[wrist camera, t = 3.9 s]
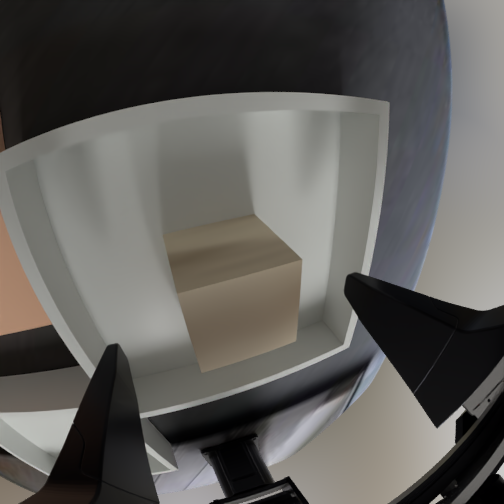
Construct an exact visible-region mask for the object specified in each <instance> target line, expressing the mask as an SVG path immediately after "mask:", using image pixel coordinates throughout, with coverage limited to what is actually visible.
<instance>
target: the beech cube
mask: <svg viewBox="0 0 504 504" xmlns="http://www.w3.org/2000/svg"><path fill="white" fill-rule="evenodd" d="M163 239H164V243H165V247H166V252H167V256H168V260H169V264H170V268H171V272H172V276H173V280H174V284H175V288H176V291H177V295H178V299H179V302H180V306H181V309H182V313H183V316H184V320H185V323H186V326H187V330H188V333H189V336H190V339H191V343H192V346H193V349H194V352H195V355H196V358H197V361H198V364H199V367H200V370H201V373H204V372H207V371H211V370H214V369H217V368H221V367H224V366H227V365H230V364H233V363H236V362H240V361H243V360H246V359H249V358H252V357H254V356H257V355H260V354H263V353H266V352H269V351H271V350H274V349H277V348H280V347H282V346H285V345H288V344H290V343H293V342H295V341H296V337H297V326H298V315H299V302H300V289H301V275H302V258H300V257H299V256H298V255H297V254H296V253H295V252H294V251H293V250H292V249H291V248H290V247H289V246H288V245H287V244H286V243H285V242H284V241H283V240H282V239H281V238H279V237H278V236H277V235H276V234H275V233H274V232H273V231H272V230H271V229H270V228H269V227H268V226H267V225H266V224H265V223H263V222H262V221H261V220H260V219H259V218H258V217H257V216H256V215H255V214H253V215H248V216H243V217H238V218H234V219H229V220H224V221H220V222H215V223H211V224H206V225H202V226H197V227H193V228H189V229H184V230H180V231H176V232H172V233H167V234H163Z"/></svg>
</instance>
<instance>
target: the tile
mask: <svg viewBox="0 0 504 504" xmlns="http://www.w3.org/2000/svg"><path fill="white" fill-rule="evenodd" d="M3 151H5V145H4V138H3V131H2V123H1V114H0V153H1V152H3ZM51 324H52V322H51V321H50V319H49V317H48V316H47V314H46V312H45V311H44V309H43V307H42V305H41V303H40V302H39V300H38V298H37V296H36V294H35V292H34V290H33V288H32V286H31V284H30V282H29V280H28V278H27V276H26V274H25V272H24V270H23V268H22V265H21V263H20V261H19V259H18V256H17V254H16V252H15V249H14V247H13V244H12V242H11V239H10V236H9V234H8V231H7V228H6V225H5V223H4V220H3V217H2V213H1V210H0V335H5V334H10V333H15V332H19V331H24V330H28V329H33V328H38V327H42V326H47V325H51Z"/></svg>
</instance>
